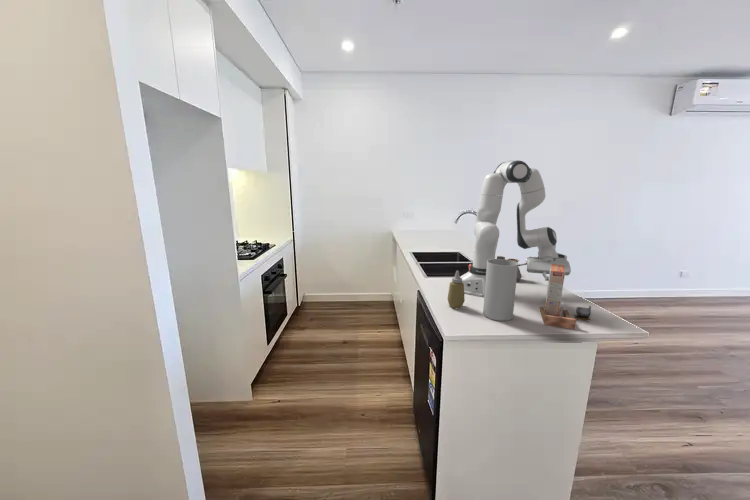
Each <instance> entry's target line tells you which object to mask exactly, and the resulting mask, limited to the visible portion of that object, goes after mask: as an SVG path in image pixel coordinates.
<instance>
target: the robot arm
mask: <svg viewBox="0 0 750 500" xmlns="http://www.w3.org/2000/svg"><path fill="white" fill-rule="evenodd" d="M507 184H517V185H518V187H519V190H520V196H521V197H520V201H519V202H518V203H517V205H516V231H517V232H516V233H517V234H516V243H517V245H518V247H519V248H521V249H523V250H527V249H532V248H537V250H538V251H537V256H529V257H526V258H525V263H527V265H526V272H527V273H532V274H542V276H543V278H544V281H546V282H548V281H549V276H548V275H549V274H550V268H551V264H557V265H564V267H565V276H569V275H571V272H572V268H571V265H570V262H569V260H568V256H567V255H566V254H562V253H559V252H557V250H556V248H557V233H556V231H555V230H554V229H552V228H551V227H550V226H545V227H538V228H533V229H526V215H527V214H528V213H529V212H530V211H532V210H534V209H535V208H537V207H539V206H540V205H541V204H543V202H544V201H545V198H546V188H545V184H544V180H543V178H542V176H541V173H540V171H539V170H538V169H537V168H533V167H532V168H531V167H530V166H529V165H528V164H527V163H526V162H525V161H523V160H519V159H518V160H507V161H503V162H501V163H499V165H497V167H496V168H495V170H494V172H491V173H489V174H486V176H484V179H483V182H482V184H481V190H480V196H479V203H478V208H477V209H478V210H477V214H476V218H475V222H474V227H473V234H474V235H475V245H474V250H473V257H472V258H473V259H472V264H471V263H470V264H469V265H467V266H468V271H467V272H466V273H464V274H462V275H460V278H462V283H463V284H464V294H466V295H472V296H476V297H484V294H485V282H486V269H487V260H489V259H496V251H497V247H498V242H499V239H500V229H499V227H498V226H497V222H498V218H499V216H500V213H501V211H502V204H503V197H504V190H505V187H506V185H507Z"/></svg>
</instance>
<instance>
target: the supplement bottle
mask: <svg viewBox="0 0 750 500" xmlns="http://www.w3.org/2000/svg"><path fill="white" fill-rule="evenodd" d="M496 259H506V256H501V255H498V256H496Z"/></svg>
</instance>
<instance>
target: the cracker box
mask: <svg viewBox="0 0 750 500" xmlns="http://www.w3.org/2000/svg"><path fill="white" fill-rule="evenodd" d="M565 276H566V275H565V267H564V265H557V264H551V268H550V274H548V277H549V281H547V282H548V283H547V288H546V289H547V290H546V297H545V305H544V309H545V312H546V314H547V315H551V316H559V315H560V308H561V302H562V301H561V300H562V294H563V288H564V283H565V282H564V281H565ZM559 317H560V316H559Z"/></svg>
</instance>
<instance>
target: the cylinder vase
mask: <svg viewBox="0 0 750 500" xmlns="http://www.w3.org/2000/svg"><path fill="white" fill-rule="evenodd" d="M518 265H519V262H518V263H517V262H515V261H512V260H507V259H506V258H505V259H497V258H495V259H489V260H487V269H486V282H485V294H484V296H483V297H484V298H483V310H482V311H483V313H482V314H483V315H484V316H485V317H486V318H488V319H491V320H494V321H498V322H507V321H510V320H512V319H513V318H514V309H515V308H514V307H515V298H516V289H517V281H516V280H517V270H518V267H519V266H518Z"/></svg>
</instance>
